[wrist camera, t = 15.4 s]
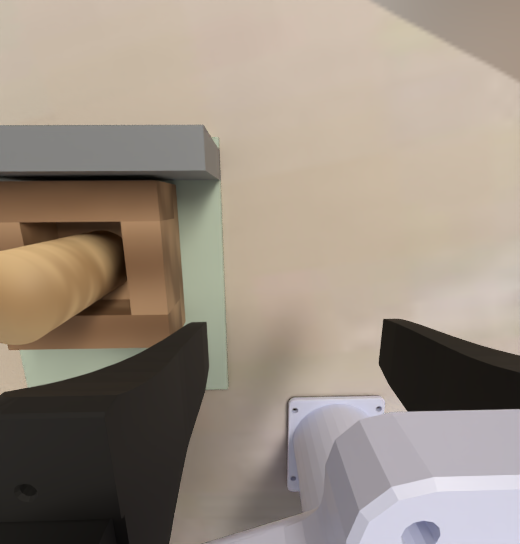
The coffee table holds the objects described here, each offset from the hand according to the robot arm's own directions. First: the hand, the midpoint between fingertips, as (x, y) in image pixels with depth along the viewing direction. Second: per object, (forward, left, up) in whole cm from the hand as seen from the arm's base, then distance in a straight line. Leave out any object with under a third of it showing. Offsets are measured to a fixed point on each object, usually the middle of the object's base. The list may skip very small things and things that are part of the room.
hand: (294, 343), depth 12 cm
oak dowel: (+2, +12, -9) cm, 15 cm away
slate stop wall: (+8, +12, -10) cm, 18 cm away
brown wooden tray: (+2, +12, -10) cm, 16 cm away
